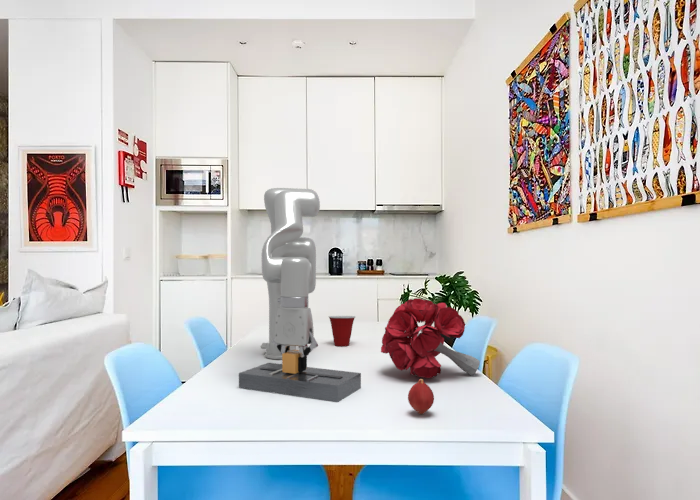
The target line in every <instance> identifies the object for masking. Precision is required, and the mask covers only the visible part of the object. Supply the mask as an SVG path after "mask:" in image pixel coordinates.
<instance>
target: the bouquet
mask: <svg viewBox="0 0 700 500" xmlns="http://www.w3.org/2000/svg"><path fill="white" fill-rule="evenodd" d="M420 323H424V324H422V325H420V326H419V325H418V324H420ZM432 325H433V326H432ZM465 328H466V323H465V320H464V318H463V316H462V315H460V314H459V313H458V311H457V310H456V309H455V308H453V307H450V306H448V305H447V304H446V302H439V303H434V302H433V301H432V300H428V299H424V298H420V297H419V298H417V297H416V298H414V299H413V298H410V299H408V300H407V301H404V303H401V304H400V305H399V306H397V307H396V308H395V310H394V312H393V314H392V315H391V316H390V318H389V319H388V321H387V324H386V326H385V327H384V333H383V336H382V338H381V343H382V344H381V348H380V353H383V354H385V355H386V354H388V355H389V358H390V359H391V361H392V363H393V365H394V366H395V368H396V369H398V370H399V371H401V372H402V371H404V370H405V371H407V370H409V368H410V371H409V373H410V375H412V376H416V377H419V378H426V379H429V378H430V379H431V378H432V379H433V378H434V377H437V376H438V375H440V374H441V373H442V372H441V371H442V364H441V363H440V362H439V361H438V360H437V356H438V355H440V354H442V355H444V356H446V357H447V358H449V359H450V360H451V361H452V362H453V363H454V364H455V365H456V366H458V368H459V369H460V370H462V371H463V372H464V373H466V374H468V375H470V376H474V375H475V374H476V372H477V371H478V369H479V367H480V360H479V359H478V358H476V357H475V356H472V355H469V354H466V353H464V352H459V351H456V350H454V349H451V348H449V347H447V346H446V345H444V343H445V337H443V336H446V337H447V338H451V337H452V338H456V339H461V337H462V336H464V333H465ZM442 335H443V336H442Z"/></svg>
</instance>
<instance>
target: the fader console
mask: <svg viewBox="0 0 700 500" xmlns="http://www.w3.org/2000/svg"><path fill="white" fill-rule="evenodd" d="M361 377H362V373H361V372H356V371H355V372H354V371H345V370H337V369H327V368H319V367H311V366H309V367H308V366H307V369H306V370H305V371H302V372H298V373H296V374H293V373H285V372H282V363H275V362H267V363H264V364H261V365H258V366H255V367H252V368H250V369H245V370H244V371H240V372H239V373H238V388H239V389H243V390H251V389H252V390H253V391H259V392H266V393H272V394H279V395H288V396H292V397H299V398H300V397H302V398H307V399H315V400H322V401H329V402H334V403H335V402H336V403H338V402H340V401H342V400H344V399H345V398H347V397H349V396H350V395H351V394H353V393H355V392H357V391H358V390H359V389H361V388H362V378H361ZM252 390H251V391H252Z"/></svg>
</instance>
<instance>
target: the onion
mask: <svg viewBox="0 0 700 500" xmlns="http://www.w3.org/2000/svg"><path fill="white" fill-rule="evenodd" d="M407 401H408V403H409V405H410V407H411V408H412V409H414V411H416V413H417V414H419V415H424V414H425V413H426V412H427V411H429V410H430V409H431V408H432V406H433V404H434V402H435V396H434V392H433V389H432V388H431V387H430V386H429V385H428V384H427V383H425V381H424V379H423V378H420V379H418V381H417V382H416V383H415V384H413V385H412V386H411V387H410V389H409V391H408V395H407Z"/></svg>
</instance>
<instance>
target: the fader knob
mask: <svg viewBox="0 0 700 500" xmlns="http://www.w3.org/2000/svg"><path fill="white" fill-rule="evenodd" d="M298 357H300V353H299V349H296V350H288V351H287V352H286V353H283V354H282V359H281V360H282V361H281V362H282V363H281V364H282V372H285V373H293V374H296V373H298V372H299V371H298ZM307 367H308V366H307ZM307 367H306V369H307Z"/></svg>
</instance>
